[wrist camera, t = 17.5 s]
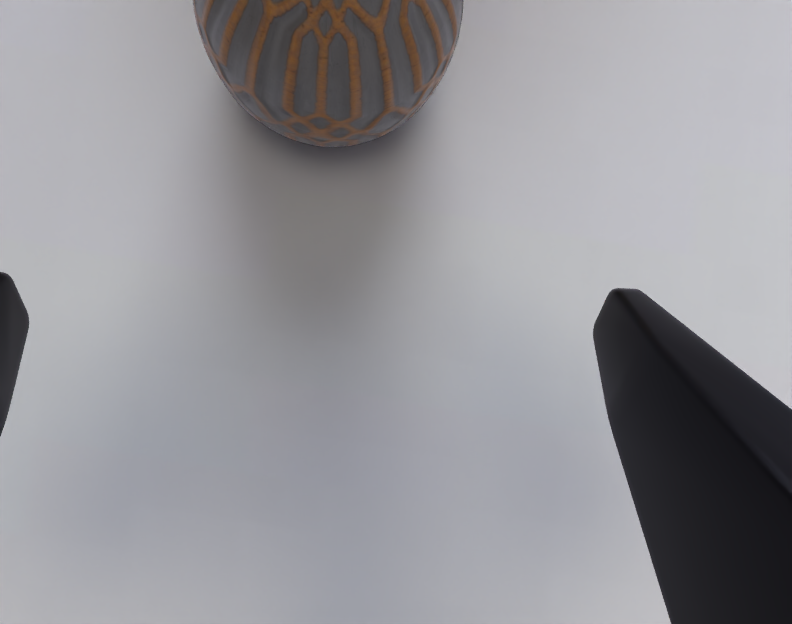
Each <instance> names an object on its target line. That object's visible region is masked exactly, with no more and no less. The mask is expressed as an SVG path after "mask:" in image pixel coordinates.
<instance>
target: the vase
mask: <svg viewBox="0 0 792 624" xmlns="http://www.w3.org/2000/svg"><path fill="white" fill-rule="evenodd" d="M193 5H194V13H195V18H196V22H197V26H198V30H199V33H200V36H201V39H202V42H203V44H204V47H205V50H206V52H207V54H208V57H209V59H210V61H211V63H212V65H213V67H214V68H215V70H216V72H217V74H218V76H219V77H220V79H221V80H222V82H223V83H224V85H225V86H226V88H227V89H228V90H229V92H230V93H231V94H232V96H233V97H234V98H235V99H236V101H237V102H238V103H239V104H240V105H241V106H242V107H243V108H244V109H245V110H246V111H247V112H248V113H249V114H250V115H252V116H253V117H254V118H255V119H257V120H258V121H259V122H261V123H262V124H264V125H265V126H267V127H268V128H270V129H272V130H273V131H275V132H277V133H279V134H281V135H283V136H285V137H287V138H290V139H293V140H295V141H298V142H302V143H305V144H310V145H315V146H324V147H343V146H351V145H357V144H361V143H365V142H368V141H371V140H374V139H376V138H378V137H381V136H383V135H385V134H387V133H389V132H391V131H393V130H394V129H396V128H397V127H399V126H401V125H402V124H403V123H405V122H406V121H407V120H408V119H410V118H411V117H412V116H413V115H414V114H415V113H416V112H417V111H418V110H419V109H420V108H421V107H422V105H423V104H424V103H425V102H426V101H427V100H428V98H429V97H430V96H431V94H432V93H433V91H434V90H435V88H436V87H437V85H438V84H439V82H440V80H441V79H442V77H443V75H444V73H445V72H446V69H447V67H448V65H449V63H450V60H451V58H452V55H453V53H454V50H455V47H456V44H457V40H458V37H459V32H460V26H461V21H462V13H463V0H193Z"/></svg>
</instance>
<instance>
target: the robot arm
mask: <svg viewBox="0 0 792 624" xmlns="http://www.w3.org/2000/svg"><path fill="white" fill-rule="evenodd" d="M28 328H29V317H28V313H27V310H26V308H25V306H24V304H23V301H22V299H21V297H20V295H19V293H18V290H17V288H16V286H15V284H14V281H13V280H12V278H11V277H10V276H9V275H8V274H6V273H3V272H0V436H1V433H2V430H3V427H4V424H5V421H6V418H7V415H8V411H9V407H10V404H11V399H12V395H13V391H14V387H15V383H16V379H17V375H18V370H19V366H20V362H21V358H22V354H23V350H24V345H25V341H26V337H27V333H28ZM593 338H594V344H595V350H596V355H597V360H598V366H599V371H600V377H601V382H602V388H603V393H604V399H605V404H606V409H607V414H608V418H609V422H610V426H611V429H612V433H613V436H614V439H615V443H616V446H617V449H618V452H619V456H620V459H621V462H622V465H623V469H624V472H625V475H626V478H627V482H628V485H629V488H630V491H631V495H632V498H633V501H634V504H635V508H636V511H637V514H638V517H639V521H640V524H641V527H642V530H643V534H644V537H645V540H646V543H647V547H648V550H649V553H650V556H651V560H652V563H653V566H654V569H655V573H656V576H657V579H658V582H659V586H660V589H661V592H662V595H663V599H664V602H665V605H666V608H667V611H668V615H669V618H670V621H671V624H792V409H790V408H789V407H788V406H786V405H785V404H784V403H783V402H781V401H780V400H779V399H778V398H776V397H775V396H774V395H772V394H771V393H770V392H769V391H767V390H766V389H765V388H764V387H762V386H761V385H760V384H759V383H757V382H756V381H755V380H753V379H752V378H751V377H750V376H748V375H747V374H746V373H745V372H743V371H742V370H741V369H740V368H738V367H737V366H736V365H734V364H733V363H732V362H731V361H729V360H728V359H727V358H726V357H724V356H723V355H722V354H720V353H719V352H718V351H717V350H715V349H714V348H713V347H712V346H710V345H709V344H708V343H707V342H705V341H704V340H703V339H701V338H700V337H699V336H698V335H696V334H695V333H694V332H693V331H691V330H690V329H689V328H687V327H686V326H685V325H684V324H682V323H681V322H680V321H679V320H677V319H676V318H675V317H674V316H672V315H671V314H670V313H668V312H667V311H666V310H665V309H663V308H662V307H661V306H660V305H658V304H657V303H656V302H654V301H653V300H652V299H651V298H649V297H648V296H647V295H646V294H644V293H643V292H642V291H640V290H638V289H626V288H616V289H613V290H612V291H611V292H610V293H609V294H608V296H607V298H606V300H605V302H604V304H603V307H602V309H601V311H600V313H599V315H598V317H597V319H596V322H595V324H594V329H593Z"/></svg>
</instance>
